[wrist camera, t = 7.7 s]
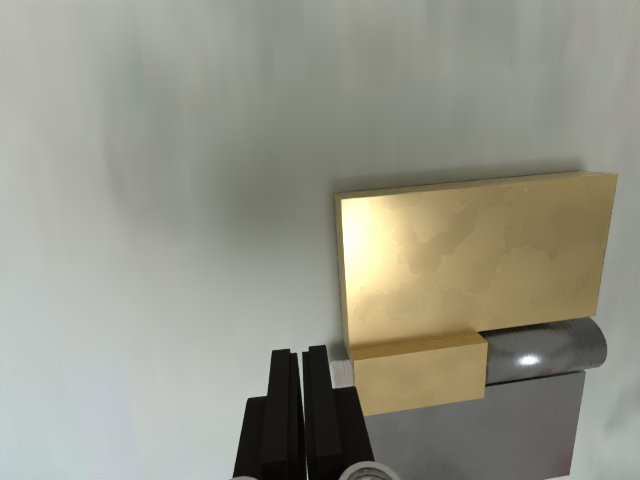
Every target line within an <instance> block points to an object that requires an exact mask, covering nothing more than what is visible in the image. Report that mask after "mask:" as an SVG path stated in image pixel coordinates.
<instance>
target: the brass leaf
mask: <svg viewBox="0 0 640 480" xmlns="http://www.w3.org/2000/svg"><path fill="white" fill-rule="evenodd" d="M617 177H618V174H615V173H604V172H593V171H573V172H562V173H551V174H540V175H529V176H518V177H507V178H497V179H486V180H475V181H464V182H453V183H442V184H431V185H420V186H410V187H399V188H388V189H377V190H366V191H355V192H344V193H334V202H335V218H336V234H337V250H338V266H339V281H340V297H341V313H342V329H343V341H344V344H345V347H346V350H347V353H348V356H349V359H350V362H351V365H352V368H353V386H355V387H356V389H357V392H358V396H359V400H360V404H361V408H362V412H363V416H369V415H376V414H382V413H389V412H395V411H402V410H408V409H415V408H421V407H428V406H434V405H441V404H447V403H454V402H460V401H467V400H473V399H480V398H484V392H485V377H486V363H487V348H488V342H487V341H486V340H485V339H484V338H483V337H482V336H481V335H480V334H478V333H477V332H479V331H486V330H494V329H501V328H508V327H516V326H523V325H531V324H538V323H546V322H553V321H560V320H568V319H575V318H583V317H590V316H595V313H596V307H597V301H598V295H599V289H600V282H601V276H602V270H603V264H604V257H605V251H606V245H607V239H608V233H609V226H610V220H611V214H612V208H613V202H614V195H615V189H616V183H617ZM349 387H351V386H349Z"/></svg>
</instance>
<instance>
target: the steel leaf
mask: <svg viewBox="0 0 640 480" xmlns="http://www.w3.org/2000/svg"><path fill="white" fill-rule="evenodd" d="M477 333H478V334H480V335H481V336H482V337H483V338H484V339H485V340H486V341H487V342H488V348H487V363H486V377H485V392H484V398H480V399H473V400H467V401H460V402H454V403H447V404H441V405H434V406H428V407H421V408H415V409H408V410H402V411H395V412H389V413H382V414H376V415H369V416H364V420H365V424H366V428H367V432H368V436H369V440H370V444H371V448H372V451H373V455H374V459H375V462H378V463H381V464H383V465H385V466H387V467H389V468H390V469H391V470H393V471H394V472H395V473H396V474H397V475H398V477H399V478H400V480H544V479H549V478H555V477H560V476H566V475H569V473H570V467H571V461H572V455H573V449H574V442H575V436H576V430H577V424H578V417H579V411H580V405H581V399H582V393H583V386H584V380H585V374H586V372H585V371H584V370H583V369H590V368H596V367H599V366H601V365H602V364H603V363H604V362H605V360H606V356H607V344H606V340H605V338H604V335H603V333H602V331H601V330H600V328H599V327H598V325H597V324H596V323H595V322H594V321H593V320H592V319H590V318H589V317H583V318H575V319H568V320H560V321H553V322H546V323H538V324H531V325H523V326H516V327H508V328H501V329H494V330H486V331H479V332H477ZM331 365H332V375H333V381H334V386H335V388H342V387H349V386H353V368H352V365H351V362H350V359H345V360H338V361H332V362H331Z"/></svg>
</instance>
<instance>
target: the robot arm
mask: <svg viewBox="0 0 640 480" xmlns="http://www.w3.org/2000/svg"><path fill="white" fill-rule="evenodd" d="M302 360H303V387H304V414H303V405H302V395H301V386H300V376H299V367H298V357H297V353H290V349H282V350H273V351H272V356H271V365H270V375H269V384H268V393H267V396H262V397H253V398H248V400H247V403H246V409H245V414H244V419H243V425H242V430H241V435H240V441H239V446H238V452H237V457H236V462H235V468H234V473H233V478H232V479H230V480H307V471H308V480H400V478H399V477H398V475H397V474H396V473H395V472H394V471H393V470H391V469H390V468H389V467H387V466H385V465H383V464H381V463H378V462H375V459H374V455H373V451H372V448H371V444H370V440H369V436H368V432H367V428H366V424H365V420H364V416H363V412H362V408H361V404H360V400H359V396H358V392H357V389H356V387H355V386H351V387H342V388H334V389H332V382H331V376H330V370H329V363H328V357H327V350H326V345H319V346H310V347H309V351H308V352H302ZM304 415H305V424H304ZM306 460H307V467H306Z"/></svg>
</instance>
